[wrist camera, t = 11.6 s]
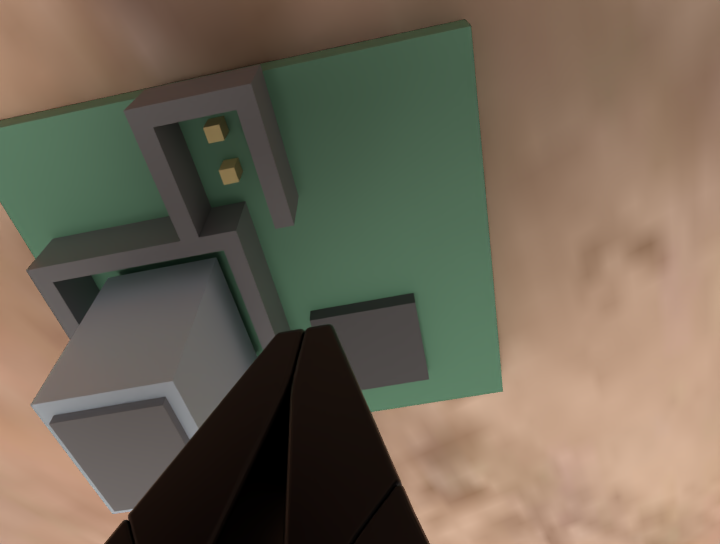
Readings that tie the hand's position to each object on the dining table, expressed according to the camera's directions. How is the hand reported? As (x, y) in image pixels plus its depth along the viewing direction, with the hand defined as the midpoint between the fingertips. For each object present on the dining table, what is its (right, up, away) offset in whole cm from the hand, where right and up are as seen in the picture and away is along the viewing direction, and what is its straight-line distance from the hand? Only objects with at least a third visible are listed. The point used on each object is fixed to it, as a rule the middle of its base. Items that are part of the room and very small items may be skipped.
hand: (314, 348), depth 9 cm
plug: (-6, -1, +13) cm, 14 cm away
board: (-3, +1, +13) cm, 14 cm away
